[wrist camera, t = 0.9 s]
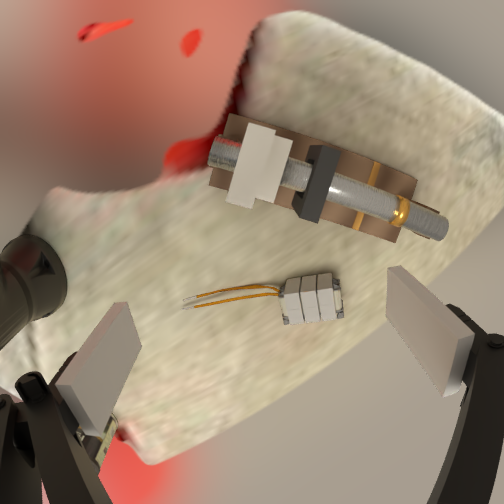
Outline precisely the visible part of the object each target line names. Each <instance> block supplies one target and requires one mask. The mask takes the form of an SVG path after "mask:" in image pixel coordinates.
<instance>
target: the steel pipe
mask: <svg viewBox="0 0 504 504" xmlns="http://www.w3.org/2000/svg"><path fill="white" fill-rule="evenodd" d="M241 146H242V143H240V142H236V141H233V140H229V139H225V138H222V137H218V136H216V137H215V139H214V141H213V144H212V147H211V150H210V154H209V158H208V165H210V166H214V167H218V168H221V169H225V170H229V171H232V172H234V170H235V167H236V163H237V160H238V156H239V153H240V150H241ZM312 168H313V165H312V164H309V163H306V162H303V161H300V160H297V159H294V158H291V157H288V159H287V162H286V165H285V168H284V171H283V175H282V178H281V181H280V184H279V185H280V186H284V187H287V188H290V189H293V190H296V191H300V192H303V193H305V189H306V186H307V183H308V180H309V177H310V174H311V171H312ZM326 200H327V201H330V202H333V203H336V204H339V205H342V206H345V207H348V208H351V209H354V210H357V211H359V212H362V213H365V214H368V215H371V216H373V217H376V218H379V219H382V220H384V221H387V223H389V224H391V225H394V226H397V227H403V228H406V229H408V230H411V231H413V232H416V233H419V234H421V235H424V236H426V237H429V238H431V239H434V240H436V241H441V240H442V239H443V238H444V237H445V236H446V234H447V231H448V227H449V223H448V219H447V218H446V217H444V216H442V215H440V214H438V213H435V212H433V211H431V210H429V209H426V208H424V207H422V206H419V205H417V204H415V203H412V202H410V201H409V200H408V199H406V198H404V197H402V196H399V195H393V194H391V193H388V192H386V191H383V190H381V189H378V188H376V187H373V186H371V185H368V184H365V183H363V182H360V181H357V180H355V179H352V178H349V177H347V176H344V175H341V174H338V173H334V177H333V180H332V183H331V186H330V189H329V192H328V195H327V198H326Z"/></svg>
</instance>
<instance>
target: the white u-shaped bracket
mask: <svg viewBox="0 0 504 504" xmlns="http://www.w3.org/2000/svg"><path fill="white" fill-rule="evenodd" d="M275 132H276V130H273V129H270V128H267V127H263V126H260V125H256V124H253V123H248V126H247V130H246V133H245V136H244V140H243V143H242V146H241V150H240V153H239V156H238V160H237V163H236V167H235V170H234V174H233V177H232V181H231V184H230V188H229V191H228V195H227V198H226V202H227V203H231V204H235V205H238V206H242V207H245V208H249V209H252V208H253V205H254V201H255V198H257V199H260V200H264V201H267V202H271V203H274V200H275V197H276V194H277V191H278V187H279V184H280V181H281V178H282V175H283V171H284V168H285V165H286V162H287V159H288V155H289V152H290V149H291V146H292V142H293V141H292V140H289V139H286V138H283V137H279V136H276V135H275Z"/></svg>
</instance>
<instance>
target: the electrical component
mask: <svg viewBox="0 0 504 504" xmlns="http://www.w3.org/2000/svg"><path fill="white" fill-rule="evenodd" d="M339 282H340V280H339V279H333V278H332V273H326V274H319V275H318V279H317V278H316V275H312V276H305V277H302V282H301V277H298V278H291V279H287V282H286V286H285V285H284V286H283V287H281V288H280V290H278V289H277V288H275V287H268V286H261V285H252V286H244V287H235V288H227V289H222V290H218V291H214V292H210V293H205V294H201V295H197V296H194V297H191V298H187V299H183V301H185V300H189V299H193V298H199V297H202V296H206V295H210V294H211V293H212V294H213V293H217V292H221V291H225V290H226V291H230V290H231V289H232V290H238V289H254V288H271V289H273V290H275V291H276V292H278V293H261V294H255V295H249V296H242V297H236V298H231V299H226V300H221V301H216V302H211V303H206V304H201V305H196V306H192V307H187V308H183V309H181V310H186V309H192V308H198V307H203V306H209V305H214V304H219V303H224V302H229V301H234V300H239V299H246V298H253V297H260V296H268V295H273V296H278V299H279V302H280V305H281V308H282V311H283V314H282V317H283V321H284V325H287V324H290V325H294V324H303V323H304V321H306V323H312V322H320V317H322V321H328V320H336V319H340V318H344V312H343V300H342V299H341V293H340V289H341V287H340V285H339V284H340V283H339ZM336 313H338V314H337V317H336Z"/></svg>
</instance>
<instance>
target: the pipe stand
mask: <svg viewBox="0 0 504 504" xmlns="http://www.w3.org/2000/svg"><path fill="white" fill-rule="evenodd" d="M248 123H253V124H256V125H260V126H263V127H267V128H270V129H273V130H276V132H275V135H276V136H279V137H283V138H286V139H289V140H292V141H293V142H292V146H291V149H290V152H289V155H288V157H291V158H294V159H297V160H300V161H303V162H305V159H306V156H307V153H308V149H309V146H310V145H325V146H328V147H331V148H334V149H336V150H339V151H341V155H340V158H339V161H338V164H337V167H336V170H335V173H338V174H341V175H344V176H347V177H349V178H352V179H355V180H357V181H360V182H363V183H365V184H368V185H371V186H373V187H376V188H378V189H381V190H383V191H386V192H388V193H391V194H393V195H399V196H402V197H404V198H406V199H408V200H409V201H410V202H412V203H415V204H417V205H419V206H422V207H424V208H426V209H429V210H431V211H433V212H435V213H438V214H439V211H437V210H434V209H432V208H430V207H428V206H425V205H423V204H420V203H418V202H415V201H413V200H411V199H412V196H413V193H414V190H415V187H416V184H417V181H418V180H417V179H415V178H412V177H410V176H408V175H406V174H403V173H401V172H399V171H397V170H394V169H392V168H390V167H387V166H385V165H383V164H380V163H378V162H376V161H373V160H370V159H368V158H365V157H363V156H360V155H358V154H355V153H353V152H350V151H347V150H345V149H342V148H339V147H337V146H334V145H331V144H328V143H325V142H323V141H320V140H317V139H314V138H311V137H308V136H305V135H302V134H299V133H296V132H293V131H290V130H287V129H283V128H280V127H277V126H274V125H270V124H267V123H263V122H260V121H256V120H253V119H249V118H246V117H242V116H238V115H235V114H231V113H229V116H228V120H227V123H226V126H225V130H224V133H223V135H221V134H219V136H218V137H222V138H225V139H229V140H233V141H236V142H240V143H243V140H244V136H245V133H246V130H247V126H248ZM210 167H211V168H213V171H212V175H211V179H210V182H209V185H210V186H213V187H217V188H221V189H224V190H228V191H229V188H230V184H231V181H232V177H233V174H234V172H232V171H229V170H225V169H221V168H218V167H214V166H210ZM294 194H295V190H293V189H290V188H287V187H284V186H280V185H279V187H278V191H277V194H276V197H275V200H274V203H273V204H276V205H280V206H283V207H286V208H290V209H293V210H294V208H293V207H292V205H291V203H292V200H293V197H294ZM256 199H257V198H256ZM263 201H264V200H263ZM266 202H267V201H266ZM270 203H271V202H270ZM320 218H322V219H325V220H328V221H331V222H334V223H337V224H340V225H343V226H346V227H349V228H352V229H355V230H358V231H361V232H364V233H367V234H370V235H373V236H376V237H379V238H382V239H385V240H388V241H391V242H393V243H396V240H397V238H398V235H399V232H400V230H401V227H397V226H394V225H391V224H389V223H387V221H384V220H382V219H379V218H376V217H373V216H371V215H368V214H365V213H362V212H359V211H357V210H354V209H351V208H348V207H345V206H342V205H339V204H336V203H333V202H330V201H327V200H326V201H325V204H324V207H323V210H322V213H321V215H320ZM412 232H413V231H412ZM414 233H416V232H414ZM416 234H417V235H420V236H422V237H425V238H427V239H430V238H429V237H426V236H424V235H421V234H419V233H416Z"/></svg>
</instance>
